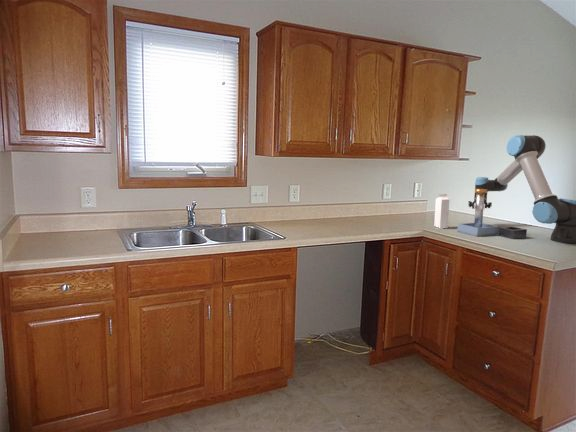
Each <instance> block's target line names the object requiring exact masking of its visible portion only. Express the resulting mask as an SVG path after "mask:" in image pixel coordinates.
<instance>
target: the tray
mask: <svg viewBox="0 0 576 432" xmlns="http://www.w3.org/2000/svg"><path fill="white" fill-rule="evenodd" d="M499 227H500V226H498V225H493V224H487V223H484V222H482V228H476V227H474V222H465V223H457V233H460V232H461V233H462V234H465V235H469V236H473V237H479V238H480V237H490V236H499Z"/></svg>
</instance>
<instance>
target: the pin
mask: <svg viewBox="0 0 576 432" xmlns="http://www.w3.org/2000/svg"><path fill="white" fill-rule="evenodd" d="M475 193H476V208H475V209H474V210H475V211H474V221H473V223H474V227H476V228H482V223H483V218H484V210H483V206H484V195H485V193H487V194H488V192H487V189H475V188H474V194H475Z"/></svg>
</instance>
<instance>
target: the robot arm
mask: <svg viewBox="0 0 576 432" xmlns="http://www.w3.org/2000/svg"><path fill="white" fill-rule="evenodd" d="M546 148H547V145H546V141H545V140H544V139H543V137H541V136H539V135H534V134H533V135H523V134H519V135H514V136H511V137H510V139H509V140H508V142H507V144H506V152H507V154H508V155H509V156H511V157H514V161H513V162H511V163H510V164H509V165H508V166H507V167H506V168H505V169H504V170H503V171H502V172H501V173H500V174H499V175H498V176H497V177H495V178H494V179H489V177H488V176H487V177H485V176H478V177H476V179H475V182H474V184H475V186H474V190H475V189H487V193H485V195H484V206H483V211H485V209H491V207H492V202H487V201H488V192H503V191H506V190H507V188H508V184H509V183H510V182H511V181H512V180H513V179H514V178H516V177H517V176H518V175H519V174H520V173H521V172H522V171H523V173H524V175H525V178H526V180H527V183H528V185H529V187H530V190H531V193H532V195H533V197H534V199H535V200H534V202H533V207H532V210H531V211H532V215H533V218H534V219H535V220H536V221H537V222H539V223H541V224H545V225H546V224H548V225H550V224H555V227H554V228H553V230H552V232H551V234H550V240H551V241H554V242H560V243H565V244H566V243H567V244H576V200H575V199H568V198H559V197H558V196H557V195H556V194H553V193H552V189H551V188H550V185H549V182H548V180H547V178H546V176H545V174H544V172H543V170H542V166H541V164H540V163H539V160H538V159H539V158H540V157H541V156H542V155H543V154H544V152H545V150H546ZM467 206H468V207H469V208H472V210H475V208H476V193H475V192H474V197H473V201H470V200H468V205H467Z"/></svg>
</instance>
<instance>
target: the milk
mask: <svg viewBox="0 0 576 432" xmlns="http://www.w3.org/2000/svg"><path fill="white" fill-rule="evenodd" d="M434 206H435V207H434V221H433V223H434V225H433V227H434V226H436V227H439V228H449V227H448V226H449V213H450V198H449V197H448V195H447V193H439V194H438V197H436V198H435V205H434Z"/></svg>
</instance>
